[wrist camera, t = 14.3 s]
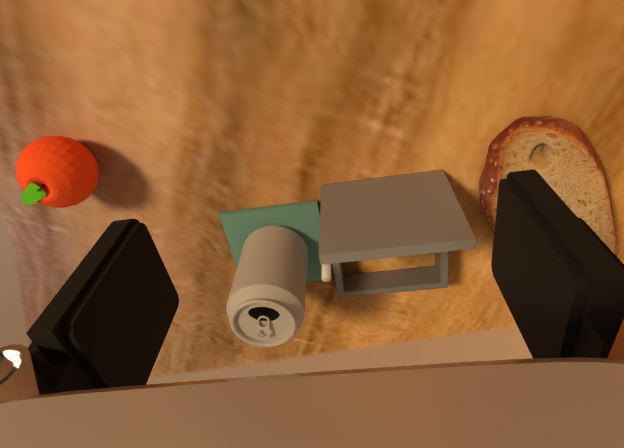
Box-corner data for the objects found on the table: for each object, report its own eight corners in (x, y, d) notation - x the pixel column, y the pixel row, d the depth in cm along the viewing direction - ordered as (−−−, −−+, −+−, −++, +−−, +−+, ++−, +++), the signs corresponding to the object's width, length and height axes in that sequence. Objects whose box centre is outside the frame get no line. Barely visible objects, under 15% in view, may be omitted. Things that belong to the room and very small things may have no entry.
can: (311, 224, 47) (306, 301, 37) (306, 275, 51) (300, 356, 41) (244, 218, 47) (220, 293, 37) (244, 269, 51) (223, 350, 41)
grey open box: (442, 169, 43) (480, 246, 32) (442, 270, 51) (471, 359, 40) (321, 184, 45) (318, 263, 34) (337, 280, 52) (339, 369, 41)
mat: (317, 200, 46) (317, 203, 45) (331, 276, 52) (331, 279, 51) (220, 212, 47) (219, 215, 47) (244, 284, 53) (244, 288, 53)
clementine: (78, 201, 47) (42, 239, 41) (23, 155, 44) (-25, 189, 38) (124, 163, 44) (92, 197, 38) (68, 111, 41) (24, 140, 35)
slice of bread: (592, 272, 51) (609, 294, 47) (445, 254, 50) (453, 275, 47) (685, 131, 40) (714, 147, 37) (502, 106, 40) (516, 121, 37)
